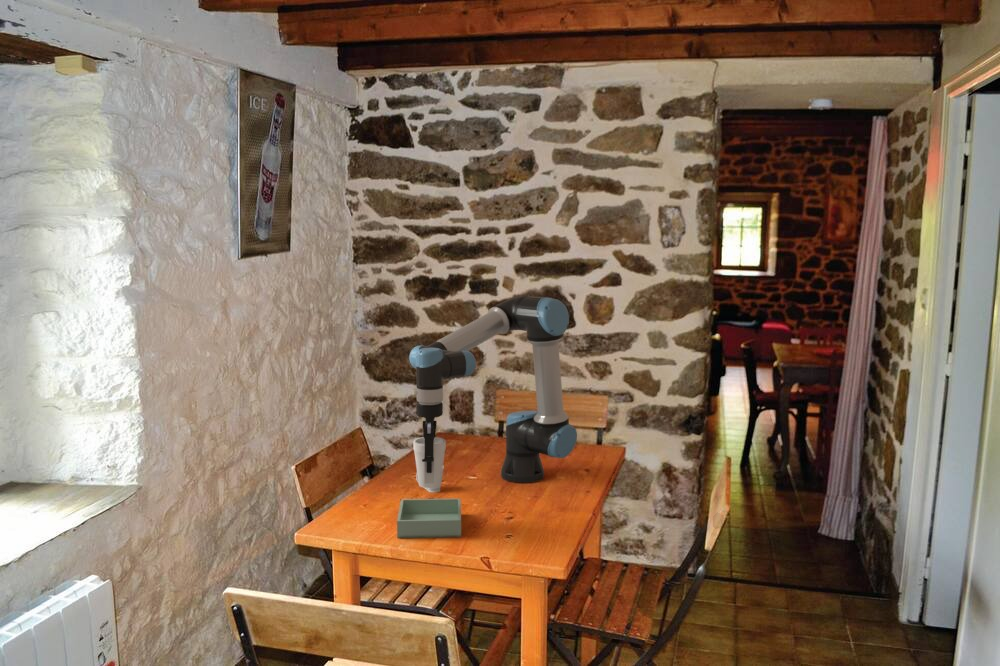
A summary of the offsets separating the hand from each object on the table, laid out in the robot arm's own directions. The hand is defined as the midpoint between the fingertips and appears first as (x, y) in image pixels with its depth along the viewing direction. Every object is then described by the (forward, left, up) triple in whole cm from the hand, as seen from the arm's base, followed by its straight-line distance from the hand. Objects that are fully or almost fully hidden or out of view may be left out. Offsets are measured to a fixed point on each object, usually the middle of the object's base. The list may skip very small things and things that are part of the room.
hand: (429, 477), depth 234 cm
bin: (0, 0, -15) cm, 15 cm away
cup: (+1, -32, -15) cm, 35 cm away
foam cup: (0, 0, -2) cm, 2 cm away
